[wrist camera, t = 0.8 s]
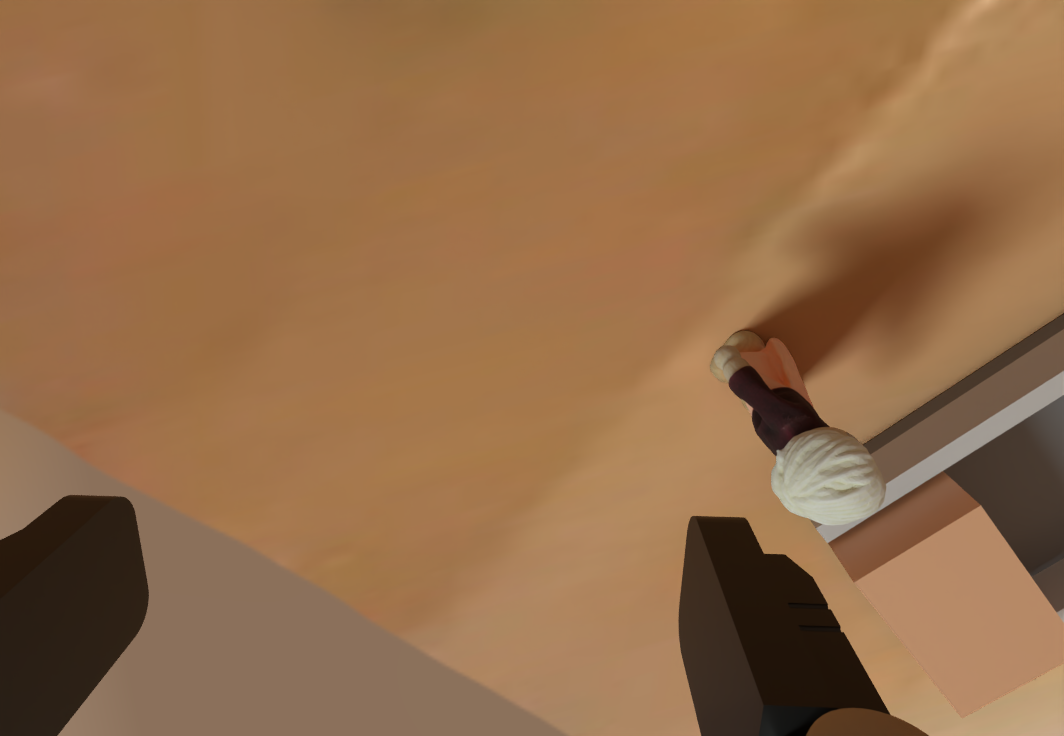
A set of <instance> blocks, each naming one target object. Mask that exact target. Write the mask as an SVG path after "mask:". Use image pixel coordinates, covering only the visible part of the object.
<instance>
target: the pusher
mask: <svg viewBox="0 0 1064 736" xmlns="http://www.w3.org/2000/svg"><path fill="white" fill-rule="evenodd" d="M828 544H829V545H830V547H831V548H832V550H833V551H834V553H835V554H836V556H837V557H838V559H839V560H840V562H841V564H842V565H843V567H844V568H845V570H846V571H847V573H848V574H849V576H850V577H851V579H852V580H853V582H854V583H855V585H856V586H857V587H858V588H859V590H860V591H861V592H862V593H863V595H864V596H865V597H866V598H867V600H868V601H869V602H870V603H871V605H872V606H873V607H874V608H875V610H876V611H877V612H878V613H879V615H880V616H881V617H882V619H883V620H884V621H885V622H886V624H887V625H888V626H889V627H890V629H891V630H892V631H893V632H894V634H895V635H896V636H897V637H898V639H899V640H900V641H901V642H902V644H903V645H904V646H905V647H906V649H907V650H908V651H909V652H910V654H911V655H912V656H913V657H914V659H915V660H916V661H917V663H918V664H919V665H920V666H921V668H922V669H923V670H924V671H925V673H926V674H927V675H928V676H929V678H930V679H931V680H932V681H933V683H934V684H935V685H936V686H937V688H938V689H939V690H940V691H941V693H942V694H943V695H944V696H945V698H946V699H947V700H948V702H949V703H950V704H951V705H952V707H953V708H954V709H955V710H956V712H957V713H958V714H959V715H960V717H961V718H964V717H965V716H967V715H969V714H971V713H973V712H975V711H977V710H978V709H980V708H982V707H984V706H986V705H988V704H989V703H991V702H993V701H995V700H997V699H999V698H1001V697H1002V696H1004V695H1006V694H1008V693H1010V692H1012V691H1013V690H1015V689H1017V688H1019V687H1021V686H1023V685H1025V684H1026V683H1028V682H1030V681H1032V680H1034V679H1036V678H1037V677H1039V676H1041V675H1043V674H1045V673H1047V672H1048V671H1050V670H1052V669H1054V668H1056V667H1058V666H1060V665H1061V664H1063V663H1064V622H1063V621H1062V620H1061V618H1060V617H1059V615H1058V614H1057V613H1056V611H1055V610H1054V608H1053V607H1052V605H1051V604H1050V603H1049V601H1048V600H1047V598H1046V597H1045V596H1044V594H1043V593H1042V591H1041V590H1040V588H1039V587H1038V586H1037V584H1036V583H1035V581H1034V580H1033V579H1032V577H1031V576H1030V574H1029V573H1028V571H1027V570H1026V569H1025V567H1024V566H1023V564H1022V563H1021V562H1020V560H1019V559H1018V557H1017V556H1016V554H1015V553H1014V552H1013V550H1012V549H1011V547H1010V546H1009V544H1008V543H1007V542H1006V540H1005V539H1004V537H1003V536H1002V535H1001V533H1000V532H999V530H998V529H997V527H996V526H995V525H994V523H993V522H992V520H991V519H990V518H989V516H988V515H987V513H986V512H985V510H984V509H983V508H982V506H981V505H980V504H979V503H978V502H977V501H976V500H974V499H973V498H972V497H971V496H970V495H969V494H968V493H967V492H966V491H964V490H963V489H962V488H961V487H960V486H959V485H958V484H957V483H956V482H955V481H953V480H952V479H951V478H950V477H949V476H948V475H947V474H946V473H945V472H943V471H942V472H940V473H939V474H937V475H935V476H934V477H932V478H931V479H929V480H927V481H926V482H924V483H923V484H921V485H919V486H918V487H916V488H915V489H913V490H912V491H910V492H908V493H907V494H905V495H904V496H902V497H900V498H899V499H897V500H896V501H894V502H892V503H891V504H889V505H888V506H886V507H884V508H883V509H881V510H880V511H878V512H877V513H875V514H873V515H872V516H870V517H869V518H867V519H865V520H864V521H862V522H861V523H859V524H857V525H856V526H854V527H853V528H851V529H849V530H848V531H846V532H845V533H843V534H841V535H840V536H838V537H837V538H835V539H834V540H832V541H830V542H829V543H828Z"/></svg>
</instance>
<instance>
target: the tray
mask: <svg viewBox="0 0 1064 736" xmlns="http://www.w3.org/2000/svg"><path fill="white" fill-rule="evenodd" d="M863 446H864V447H865V448H866V449H867V450H868V452H869V454H870V455H871V456H872V457H873V459H874V460H875V462H876V465H877V467H878V468H879V470H880V471H881V473H882V476H883V479H884V481H885V484H886V493H885V500H884V502H883V504H882V505H881V507H880V508H879V509H878V510H877V511H876V512H875V513H877V512H878V511H880V510H881V509H883V508H884V507H886V506H888V505H889V504H891V503H892V502H894V501H896V500H897V499H899V498H900V497H902V496H904V495H905V494H907V493H908V492H910V491H912V490H913V489H915V488H916V487H918V486H919V485H921V484H923V483H924V482H926V481H927V480H929V479H931V478H932V477H934V476H935V475H937V474H939V473H940V472H942V471H943V472H945V473H946V474H947V475H948V476H949V477H950V478H951V479H952V480H953V481H955V482H956V483H957V484H958V485H959V486H960V487H961V488H962V489H963V490H964V491H966V492H967V493H968V494H969V495H970V496H971V497H972V498H973V499H974V500H976V501H977V502H978V503H979V504H980V505H981V506H982V508H983V509H984V510H985V512H986V513H987V515H988V516H989V518H990V519H991V520H992V522H993V523H994V525H995V526H996V527H997V529H998V530H999V532H1000V533H1001V535H1002V536H1003V537H1004V539H1005V540H1006V542H1007V543H1008V544H1009V546H1010V547H1011V549H1012V550H1013V552H1014V553H1015V554H1016V556H1017V557H1018V559H1019V560H1020V562H1021V563H1022V564H1023V566H1024V567H1025V569H1026V570H1027V571H1028V573H1029V574H1030V576H1031V577H1032V579H1033V580H1034V581H1035V583H1036V584H1037V586H1038V587H1039V588H1040V590H1041V591H1042V593H1043V594H1044V596H1045V597H1046V598H1047V600H1048V601H1049V603H1050V604H1051V605H1052V607H1053V608H1054V610H1055V611H1056V613H1057V614H1058V615H1059V617H1060V618H1061V620H1062V621H1063V622H1064V314H1063V315H1061V316H1059V317H1058V318H1056V319H1055V320H1053V321H1052V322H1050V323H1049V324H1047V325H1046V326H1044V327H1043V328H1041V329H1040V330H1038V331H1037V332H1035V333H1033V334H1032V335H1030V336H1029V337H1027V338H1026V339H1024V340H1023V341H1021V342H1020V343H1018V344H1017V345H1015V346H1014V347H1012V348H1011V349H1009V350H1008V351H1006V352H1004V353H1003V354H1001V355H1000V356H998V357H997V358H995V359H994V360H992V361H991V362H989V363H988V364H986V365H985V366H983V367H982V368H980V369H978V370H977V371H975V372H974V373H972V374H971V375H969V376H968V377H966V378H965V379H963V380H962V381H960V382H959V383H957V384H956V385H954V386H953V387H951V388H949V389H948V390H946V391H945V392H943V393H942V394H940V395H939V396H937V397H936V398H934V399H933V400H931V401H930V402H928V403H927V404H925V405H923V406H922V407H920V408H919V409H917V410H916V411H914V412H913V413H911V414H910V415H908V416H907V417H905V418H904V419H902V420H901V421H899V422H898V423H896V424H894V425H893V426H891V427H890V428H888V429H887V430H885V431H884V432H882V433H881V434H879V435H878V436H876V437H875V438H873V439H872V440H870V441H868V442H867V443H865V444H864V445H863ZM875 513H873V514H875ZM873 514H872V515H873ZM872 515H870V516H872ZM870 516H868V517H865V518H862V519H859V520H857V521H854V522H851V523H848V524H844V525H824V524H821V523H818V522H815V521H813V520H811V519H810V520H811V522H812V523H813V525H814V526H815V528H816V529H817V530H818V532H819V533H820V534H821V535H822V537H823V538H824V539H825V541H826V542H827V543H829V542H830V541H832V540H834V539H835V538H837V537H838V536H840V535H841V534H843V533H845V532H846V531H848V530H849V529H851V528H853V527H854V526H856V525H857V524H859V523H861V522H862V521H864V520H865V519H867V518H869V517H870Z"/></svg>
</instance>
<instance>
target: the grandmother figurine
mask: <svg viewBox="0 0 1064 736" xmlns="http://www.w3.org/2000/svg"><path fill="white" fill-rule="evenodd" d="M710 367H711V371H712V373H713V375H714V376H715V377H716V378H717V379H718V380H720V381H722V382H724V383H729V387H730V389H731V390H732V391H733V392H734V393H735V395H737V396H738V397H739V398H740V399H741V401H742V403H743V405H744V407H745V408H746V409H747V410H748V411H749V412H750V414H751V417H752V422H753V425H754V428H755V431H756V433H757V435H758V436H759V437H760V439H761V440H762V441H763V443H764V444H765V445H766V446H767V447H768V448H769V449H770V450H771V451H772V453H773V454H774V455H775V456H776V465H775V466H774V468H773V469H772V474H771V486H772V489H773V491H774V493H775V494H776V495H777V496H778V497H779V499H780V501H781V502H782V504H783V505H784V506H785V507H786V508H787V509H788V510H789V511H790V512H792V513H794V514H797V515H799V516H802V517H805V518H809V519H811V520H813V521H815V522H818V523H821V524H824V525H844V524H848V523H851V522H854V521H857V520H859V519H862V518H865V517H868V516H870V515H872V514H873V513H875V512H876V511H877V510H878V509H879V508H880V507H881V505H882V504H883V502H884V500H885V493H886V484H885V481H884V479H883V476H882V473H881V471H880V470H879V468H878V467H877V465H876V462H875V460H874V459H873V457H872V456H871V455H870V454H869V452H868V450H867V449H866V448H865V447H864V446H863V445H862V444H861V443H860V442H859V441H858V440H857V439H856V438H855V437H853V436H852V435H851V434H849V433H847V432H845V431H843V430H840V429H837V428H833V427H829V426H828V425H827V424H826V423H825V422H824V421H823V420H822V419H821V418H820V417H819V416H818V414H817V412H816V411H815V410H814V408H813V405H812V402H811V400H810V398H809V396H808V393H807V390H806V388H805V385H804V383H803V381H802V378H801V376H800V374H799V371H798V369H797V366H796V364H795V361H794V359H793V358H792V356H791V354H790V352H789V351H788V349H787V348H786V346H785V344H784V343H783V342H782V341H780V340H779V339H777V338H770V339H769V341H768V342H767V344H766V347H765V344H764V342H763V341H762V339H761V338H760V337H759V336H758V335H756V334H755V333H753V332H750V331H740V332H737V333H735V334H733V335H732V336H731V337H730V338H729V339H728V340H727V341H726V343H725V344H724V345H723V346H722V347H720V348H719V349H718V350H717V351H716V353H715V355H714V358H713V359H712V361H711V365H710Z"/></svg>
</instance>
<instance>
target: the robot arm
mask: <svg viewBox="0 0 1064 736" xmlns="http://www.w3.org/2000/svg"><path fill="white" fill-rule="evenodd" d="M148 598H149V592H148V584H147V578H146V572H145V566H144V561H143V556H142V549H141V543H140V538H139V532H138V526H137V521H136V515H135V511H134V508H133V505H132V504H131V502H130V501H129V500H128V499H127V498H125V497H116V496H85V495H69V496H66V497H63V498H62V499H60V500H59V501H58V502H56V503H55V504H54V505H53V506H51V507H50V508H49V509H48V510H46V511H45V512H44V513H43V514H41V515H40V516H39V517H38V518H36V519H35V520H34V521H33V522H31V523H30V524H29V525H27V526H26V527H25V528H24V529H22V530H20V531H18V532H16V533H14V534H12V535H10V536H8V537H6V538H4V539H2V540H0V736H57V735H58V734H59V733H60V732H61V730H62V729H63V728H64V726H65V725H66V724H67V723H68V721H69V720H70V718H72V716H73V715H74V714H75V713H76V711H77V710H78V708H79V707H80V706H81V705H82V703H83V702H84V701H85V700H86V699H87V697H88V696H89V695H90V693H91V692H92V691H93V690H94V688H95V687H96V686H97V685H98V683H99V682H100V681H101V679H102V678H103V677H104V676H105V674H106V673H107V672H108V670H109V669H110V668H111V667H112V666H113V664H114V663H115V661H116V660H117V659H118V658H119V657H120V655H121V654H122V653H123V652H124V650H125V649H126V648H127V646H128V645H129V644H130V643H131V641H132V640H133V639H134V637H135V636H136V635H137V633H138V632H139V630H140V628H141V626H142V624H143V621H144V619H145V615H146V612H147V607H148ZM679 639H680V648H681V654H682V658H683V662H684V666H685V670H686V675H687V679H688V683H689V687H690V691H691V695H692V699H693V703H694V707H695V711H696V716H697V720H698V724H699V728H700V732H701V736H929V735H927V734H926V733H924V732H923V731H921V730H920V729H918V728H917V727H915V726H913V725H911V724H909V723H907V722H905V721H904V720H901V719H899V718H897V717H894V716H892V715H890V713H889V711H888V710H887V708H886V706H885V704H884V703H883V701H882V699H881V697H880V696H879V694H878V692H877V690H876V688H875V687H874V685H873V683H872V681H871V680H870V678H869V676H868V674H867V673H866V671H865V669H864V667H863V665H862V664H861V662H860V660H859V658H858V657H857V655H856V653H855V651H854V650H853V648H852V646H851V644H850V642H849V641H848V639H847V637H846V635H845V634H844V632H841V630H840V625H839V623H838V621H837V620H836V618H835V616H834V614H833V612H832V611H831V609H828V604H827V602H826V600H825V598H824V597H823V595H822V593H821V591H820V589H819V588H818V586H817V584H816V582H815V581H814V579H813V577H812V576H810V575H809V574H808V573H807V572H805V571H804V570H803V569H802V568H801V567H799V566H798V565H797V564H796V563H795V562H793V561H792V560H791V559H790V558H788V557H787V556H786V555H783V554H764V553H763V551H762V549H761V547H760V545H759V543H758V541H757V539H756V537H755V535H754V533H753V531H752V529H751V527H750V525H749V523H748V521H747V520H746V519H745V518H740V517H709V516H692V517H691V519H690V521H689V524H688V530H687V539H686V548H685V558H684V567H683V576H682V586H681V595H680V605H679Z"/></svg>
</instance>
